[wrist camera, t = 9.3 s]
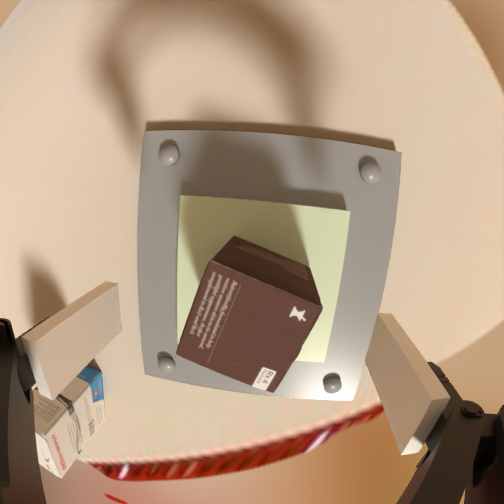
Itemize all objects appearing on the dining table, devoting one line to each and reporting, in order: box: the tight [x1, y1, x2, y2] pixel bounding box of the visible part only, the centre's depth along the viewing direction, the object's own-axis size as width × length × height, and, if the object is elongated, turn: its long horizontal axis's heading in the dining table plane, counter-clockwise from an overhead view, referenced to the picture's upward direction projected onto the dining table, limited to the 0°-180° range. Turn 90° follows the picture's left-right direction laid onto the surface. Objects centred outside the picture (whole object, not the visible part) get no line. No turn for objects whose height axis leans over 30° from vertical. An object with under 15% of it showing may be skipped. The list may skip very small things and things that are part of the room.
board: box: [137, 130, 402, 400], centre depth 23 cm, size 22×20×2 cm
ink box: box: [32, 365, 106, 478], centre depth 23 cm, size 8×5×12 cm, turn 166°
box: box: [176, 236, 323, 393], centre depth 18 cm, size 6×6×7 cm
